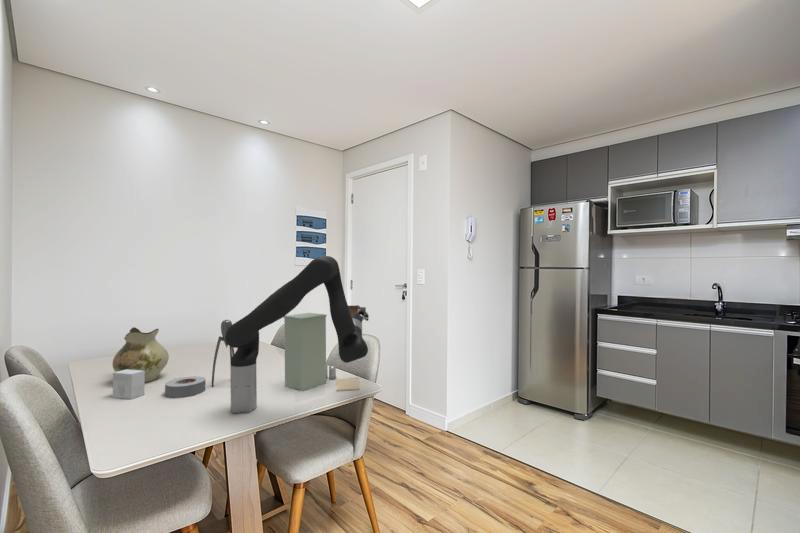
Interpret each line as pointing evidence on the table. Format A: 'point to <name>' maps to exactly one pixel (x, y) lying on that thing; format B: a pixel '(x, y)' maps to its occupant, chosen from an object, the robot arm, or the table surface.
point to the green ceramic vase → (141, 354)
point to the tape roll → (184, 387)
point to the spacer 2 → (332, 372)
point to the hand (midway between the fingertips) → (352, 307)
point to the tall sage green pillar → (305, 350)
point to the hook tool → (355, 309)
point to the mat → (347, 384)
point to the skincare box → (128, 384)
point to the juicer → (224, 328)
